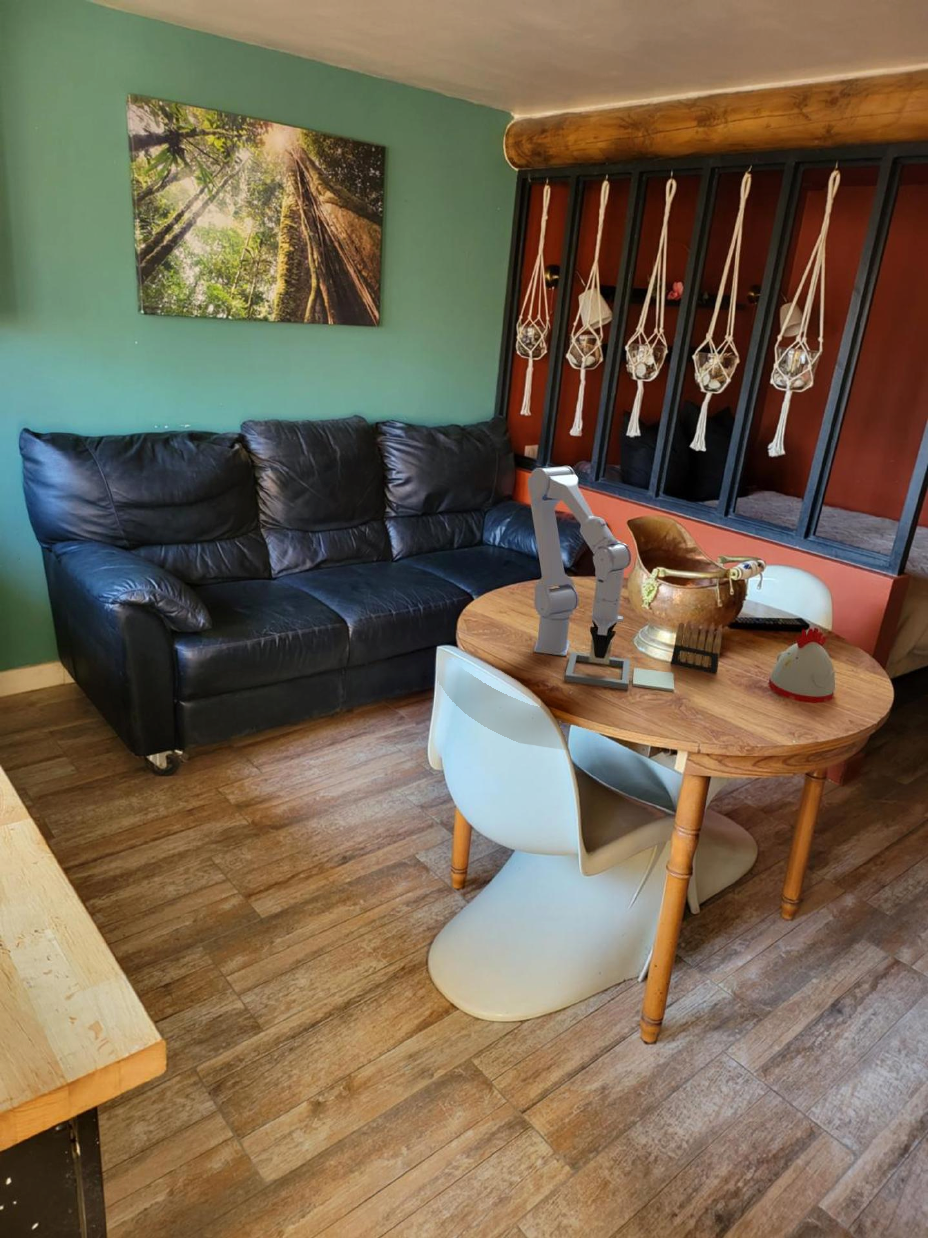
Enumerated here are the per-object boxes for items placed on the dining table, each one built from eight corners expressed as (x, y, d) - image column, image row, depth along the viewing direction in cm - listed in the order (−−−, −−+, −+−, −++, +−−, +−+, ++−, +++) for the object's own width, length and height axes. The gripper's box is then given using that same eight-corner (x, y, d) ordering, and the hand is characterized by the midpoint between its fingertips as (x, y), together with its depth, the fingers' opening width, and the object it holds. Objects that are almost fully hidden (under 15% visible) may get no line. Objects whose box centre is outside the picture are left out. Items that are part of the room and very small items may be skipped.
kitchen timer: (755, 680, 193) (767, 619, 187) (802, 674, 197) (815, 615, 192) (797, 706, 180) (811, 642, 175) (846, 699, 185) (861, 637, 180)
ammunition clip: (670, 664, 198) (677, 617, 194) (672, 661, 200) (679, 615, 196) (716, 674, 194) (724, 626, 190) (717, 671, 196) (725, 624, 192)
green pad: (633, 670, 194) (633, 667, 194) (672, 675, 192) (673, 673, 192) (632, 685, 185) (632, 683, 185) (673, 691, 184) (674, 689, 184)
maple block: (590, 654, 192) (593, 632, 190) (609, 656, 192) (612, 634, 190) (588, 661, 188) (591, 639, 186) (608, 664, 187) (611, 641, 185)
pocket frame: (570, 657, 199) (571, 651, 198) (629, 665, 196) (630, 659, 196) (564, 681, 186) (565, 675, 185) (627, 689, 183) (628, 683, 183)
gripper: (624, 610, 177) (616, 668, 182) (626, 589, 190) (619, 644, 195) (591, 605, 178) (584, 663, 183) (595, 585, 192) (589, 640, 197)
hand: (600, 653), depth 189 cm, fingers closed on maple block, 4 cm apart
